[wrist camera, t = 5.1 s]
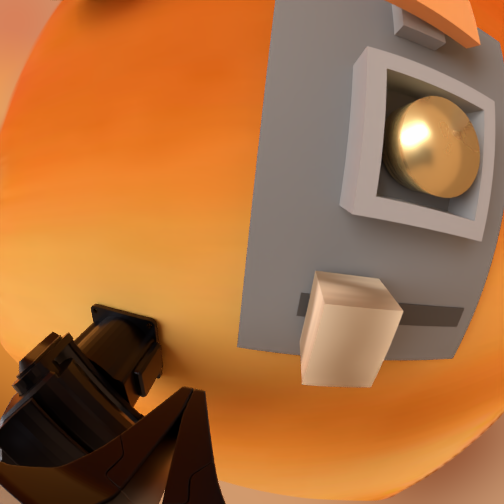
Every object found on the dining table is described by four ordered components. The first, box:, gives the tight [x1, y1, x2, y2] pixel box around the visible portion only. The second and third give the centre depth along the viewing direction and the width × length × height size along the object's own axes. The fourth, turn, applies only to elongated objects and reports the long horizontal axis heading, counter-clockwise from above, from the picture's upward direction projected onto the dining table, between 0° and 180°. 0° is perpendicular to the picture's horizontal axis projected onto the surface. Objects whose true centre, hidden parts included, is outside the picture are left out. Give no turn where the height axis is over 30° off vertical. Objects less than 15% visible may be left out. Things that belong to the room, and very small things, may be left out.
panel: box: [237, 0, 504, 360], centre depth 13 cm, size 18×27×5 cm, turn 174°
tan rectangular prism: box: [300, 271, 403, 387], centre depth 14 cm, size 4×5×4 cm
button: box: [382, 96, 480, 198], centre depth 11 cm, size 5×5×3 cm
